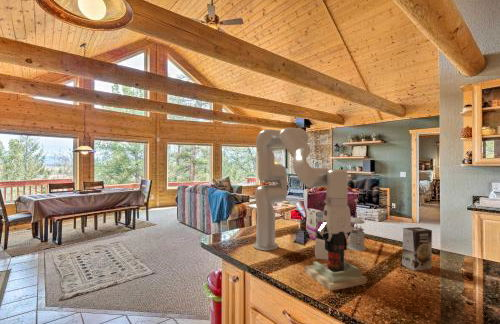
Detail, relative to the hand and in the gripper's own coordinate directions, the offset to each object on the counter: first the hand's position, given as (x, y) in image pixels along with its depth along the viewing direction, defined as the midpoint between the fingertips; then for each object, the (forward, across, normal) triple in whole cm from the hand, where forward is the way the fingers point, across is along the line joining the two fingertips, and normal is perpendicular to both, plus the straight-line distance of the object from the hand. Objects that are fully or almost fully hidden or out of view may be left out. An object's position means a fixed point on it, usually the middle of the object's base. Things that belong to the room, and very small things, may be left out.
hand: (335, 249), depth 96 cm
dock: (+11, 0, +1) cm, 11 cm away
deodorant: (+8, 0, 0) cm, 8 cm away
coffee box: (+11, +40, -2) cm, 42 cm away
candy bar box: (+11, +22, +46) cm, 52 cm away
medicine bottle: (+11, +9, +20) cm, 24 cm away
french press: (+11, +33, +25) cm, 43 cm away
